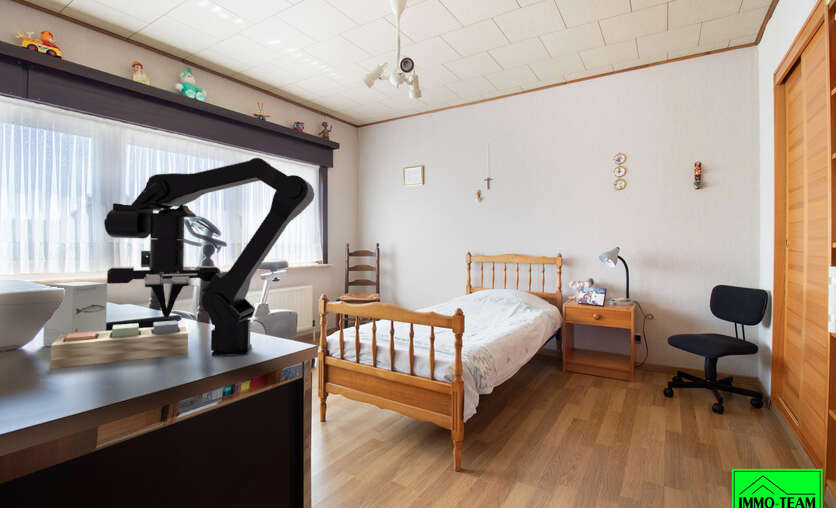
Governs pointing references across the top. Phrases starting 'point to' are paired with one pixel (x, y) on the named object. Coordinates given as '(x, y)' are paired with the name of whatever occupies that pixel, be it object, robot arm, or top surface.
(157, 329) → the key slate
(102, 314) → the supplement box
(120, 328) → the key sage
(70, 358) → the wooden slotted block
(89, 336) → the key terracotta
